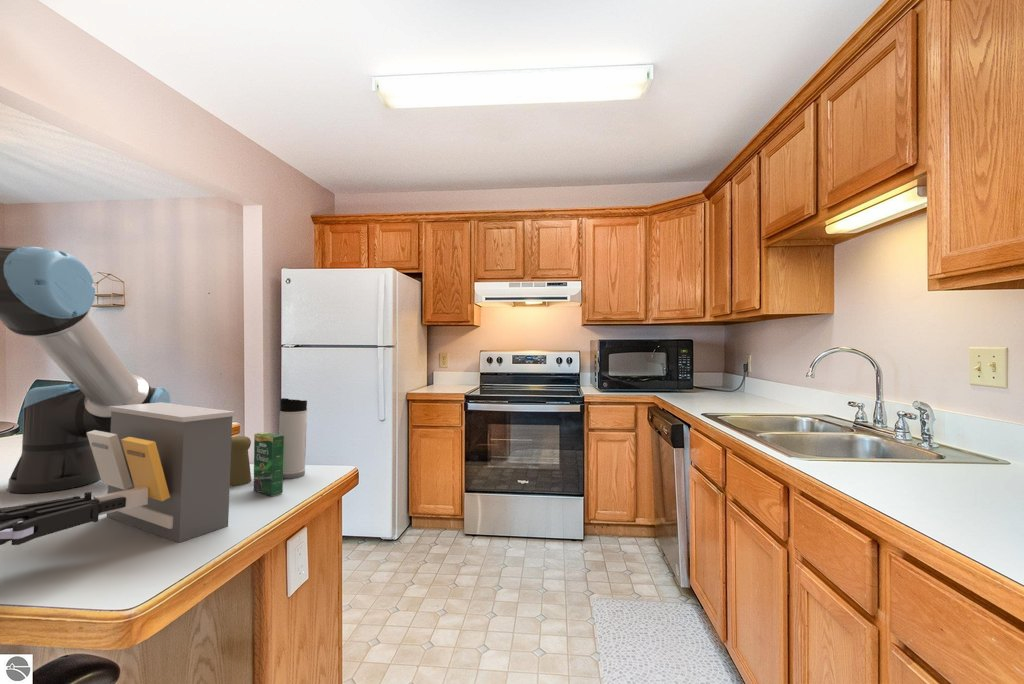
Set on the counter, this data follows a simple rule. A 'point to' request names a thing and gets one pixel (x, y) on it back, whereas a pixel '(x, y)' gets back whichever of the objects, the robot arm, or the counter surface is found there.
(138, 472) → the rocker amber
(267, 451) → the coffee box
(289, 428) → the travel mug
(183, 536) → the switch panel
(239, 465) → the cork
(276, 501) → the counter surface
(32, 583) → the counter surface
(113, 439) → the rocker ivory
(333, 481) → the counter surface
